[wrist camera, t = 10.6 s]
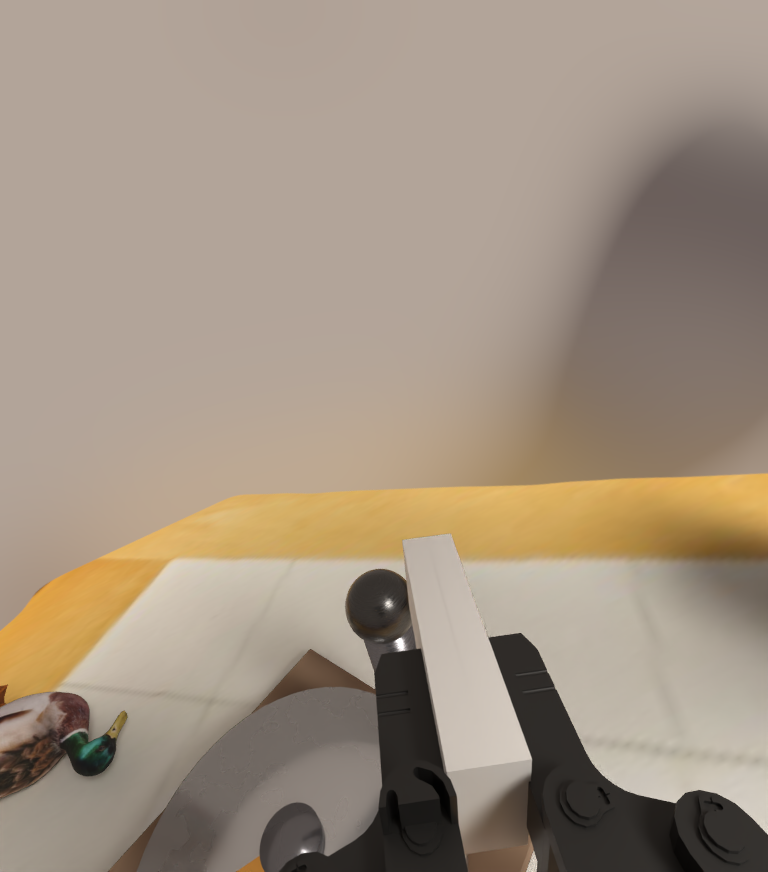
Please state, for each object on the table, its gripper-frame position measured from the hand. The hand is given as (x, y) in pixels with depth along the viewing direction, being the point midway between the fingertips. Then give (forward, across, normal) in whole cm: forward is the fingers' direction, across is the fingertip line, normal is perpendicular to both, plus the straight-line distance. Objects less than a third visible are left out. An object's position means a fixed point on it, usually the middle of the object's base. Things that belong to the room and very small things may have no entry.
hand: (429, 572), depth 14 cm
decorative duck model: (+15, -35, -32) cm, 50 cm away
